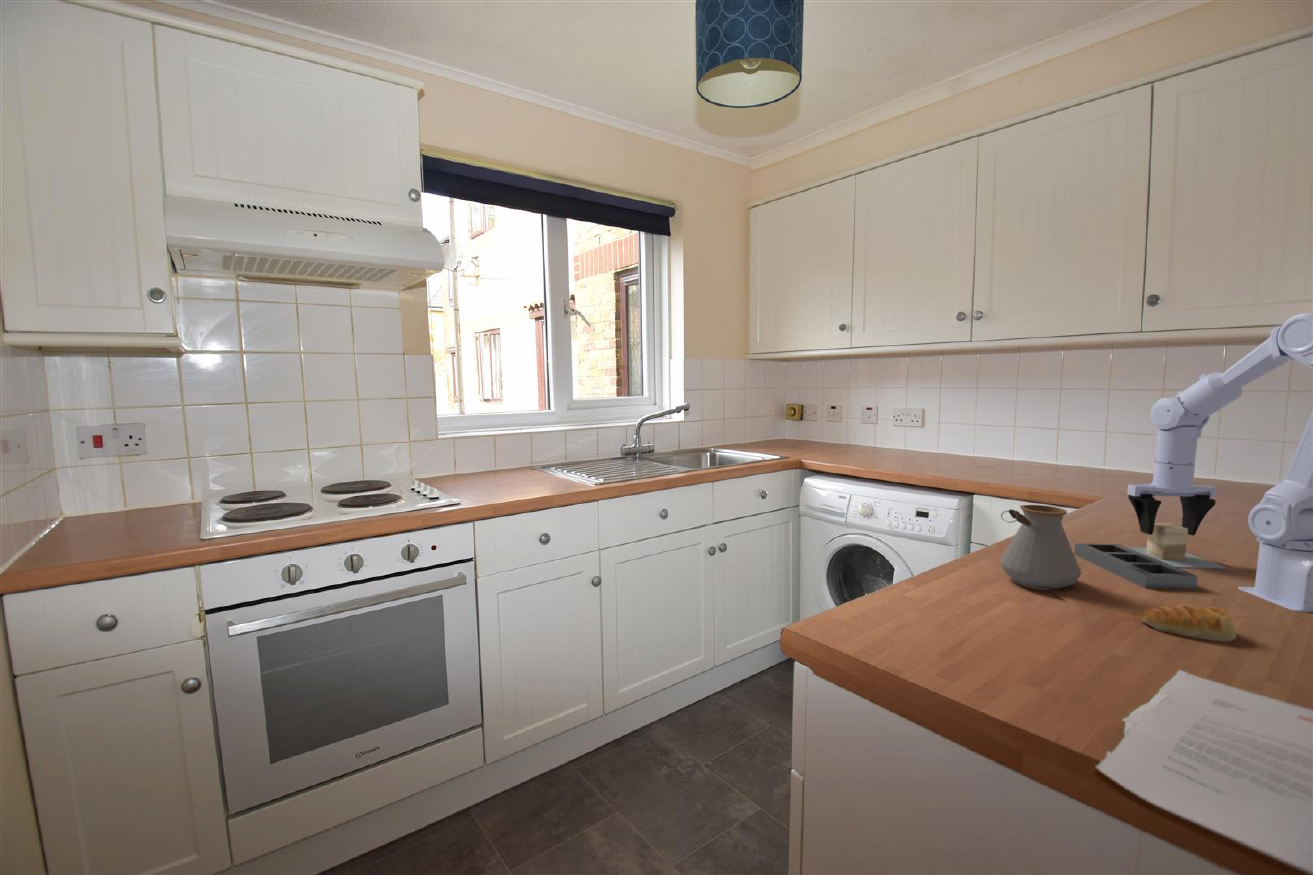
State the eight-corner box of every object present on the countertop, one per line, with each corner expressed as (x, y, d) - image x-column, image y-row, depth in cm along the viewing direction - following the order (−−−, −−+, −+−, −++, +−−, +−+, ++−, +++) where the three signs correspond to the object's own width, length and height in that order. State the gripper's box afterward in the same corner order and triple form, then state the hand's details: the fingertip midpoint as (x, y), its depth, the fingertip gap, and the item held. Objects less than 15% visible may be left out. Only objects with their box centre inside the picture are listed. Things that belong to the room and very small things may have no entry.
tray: (1196, 591, 96) (1197, 575, 95) (1144, 590, 96) (1145, 574, 96) (1117, 557, 113) (1118, 544, 113) (1074, 556, 114) (1075, 543, 114)
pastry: (1155, 636, 80) (1157, 609, 79) (1131, 617, 86) (1133, 592, 86) (1241, 646, 77) (1244, 618, 77) (1210, 625, 83) (1212, 599, 83)
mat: (1226, 570, 106) (1226, 567, 106) (1156, 569, 106) (1156, 566, 106) (1172, 550, 118) (1172, 547, 117) (1109, 549, 118) (1110, 546, 118)
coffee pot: (1013, 567, 108) (1019, 486, 106) (1088, 584, 99) (1096, 497, 97) (963, 595, 94) (968, 503, 92) (1045, 618, 85) (1053, 517, 84)
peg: (1184, 560, 110) (1188, 528, 109) (1162, 559, 110) (1165, 528, 109) (1167, 553, 114) (1170, 523, 113) (1146, 553, 114) (1148, 522, 113)
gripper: (1197, 460, 113) (1190, 528, 115) (1118, 459, 114) (1112, 527, 116) (1230, 465, 106) (1222, 538, 108) (1146, 464, 107) (1139, 537, 109)
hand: (1167, 533), depth 111 cm, fingers open, 7 cm apart
